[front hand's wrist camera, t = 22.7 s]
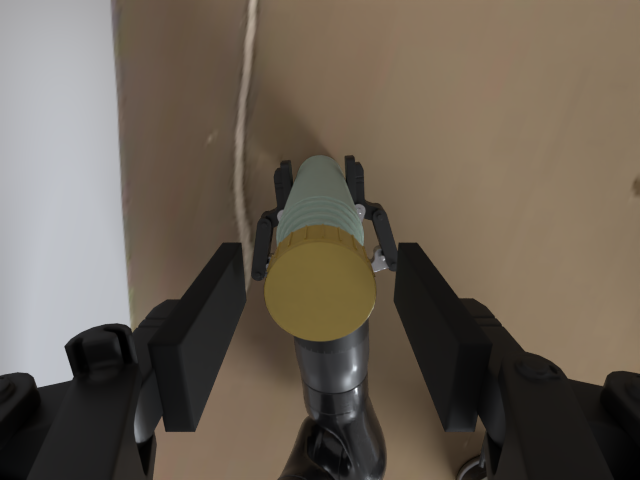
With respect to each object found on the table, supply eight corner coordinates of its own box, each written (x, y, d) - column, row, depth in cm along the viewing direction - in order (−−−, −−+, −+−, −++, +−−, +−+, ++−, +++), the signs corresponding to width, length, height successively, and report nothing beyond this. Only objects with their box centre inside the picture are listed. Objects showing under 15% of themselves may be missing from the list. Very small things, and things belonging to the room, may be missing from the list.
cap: (372, 308, 15) (379, 337, 13) (278, 317, 15) (272, 347, 13) (366, 218, 14) (374, 235, 12) (262, 228, 14) (253, 247, 12)
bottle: (347, 194, 36) (390, 321, 14) (304, 204, 36) (280, 345, 14) (336, 149, 34) (366, 214, 12) (291, 161, 35) (243, 244, 13)
